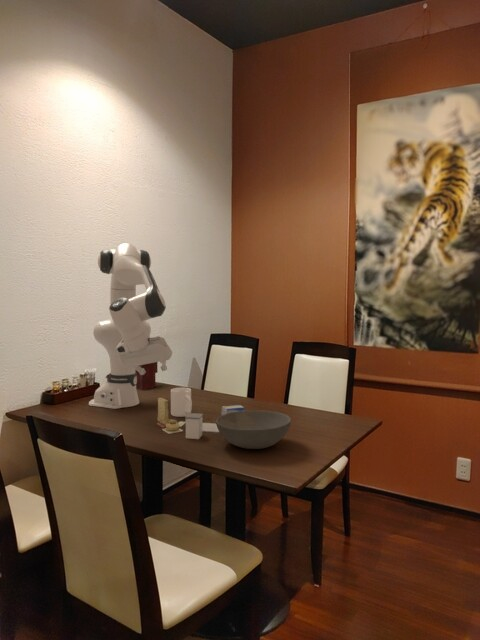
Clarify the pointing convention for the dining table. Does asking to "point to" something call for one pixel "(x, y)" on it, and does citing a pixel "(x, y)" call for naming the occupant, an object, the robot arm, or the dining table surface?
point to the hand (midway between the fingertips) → (154, 371)
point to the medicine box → (232, 409)
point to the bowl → (253, 428)
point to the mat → (209, 427)
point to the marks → (171, 431)
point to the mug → (181, 402)
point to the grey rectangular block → (193, 425)
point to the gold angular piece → (166, 416)
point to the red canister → (147, 376)
